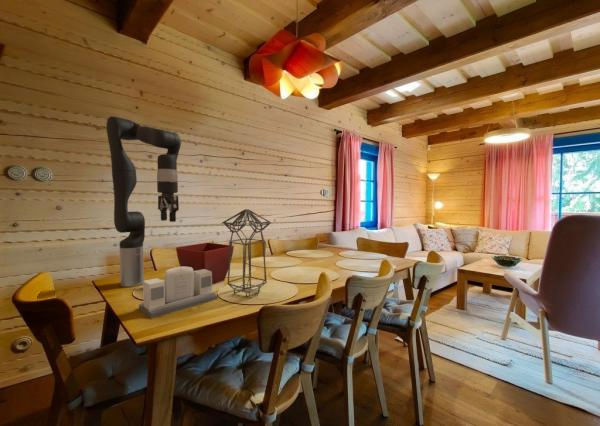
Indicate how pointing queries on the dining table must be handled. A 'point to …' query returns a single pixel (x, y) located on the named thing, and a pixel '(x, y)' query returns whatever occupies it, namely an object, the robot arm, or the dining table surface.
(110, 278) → the dining table surface
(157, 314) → the rail board
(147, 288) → the mounted modules
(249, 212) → the geometric lantern
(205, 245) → the plant pot
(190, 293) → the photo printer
